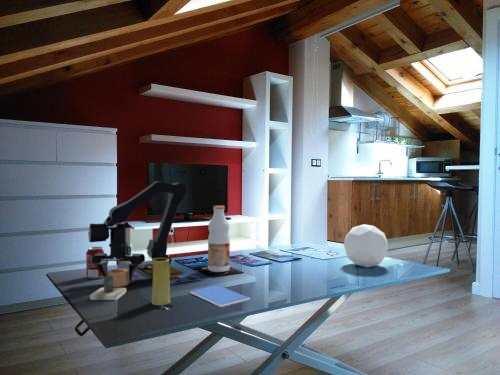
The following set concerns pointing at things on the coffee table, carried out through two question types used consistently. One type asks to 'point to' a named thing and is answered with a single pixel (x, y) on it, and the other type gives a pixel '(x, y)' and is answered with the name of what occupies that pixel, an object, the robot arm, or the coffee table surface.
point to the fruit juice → (218, 242)
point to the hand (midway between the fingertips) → (118, 281)
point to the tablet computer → (219, 296)
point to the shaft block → (108, 291)
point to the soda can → (91, 269)
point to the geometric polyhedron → (366, 245)
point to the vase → (161, 282)
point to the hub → (119, 277)
